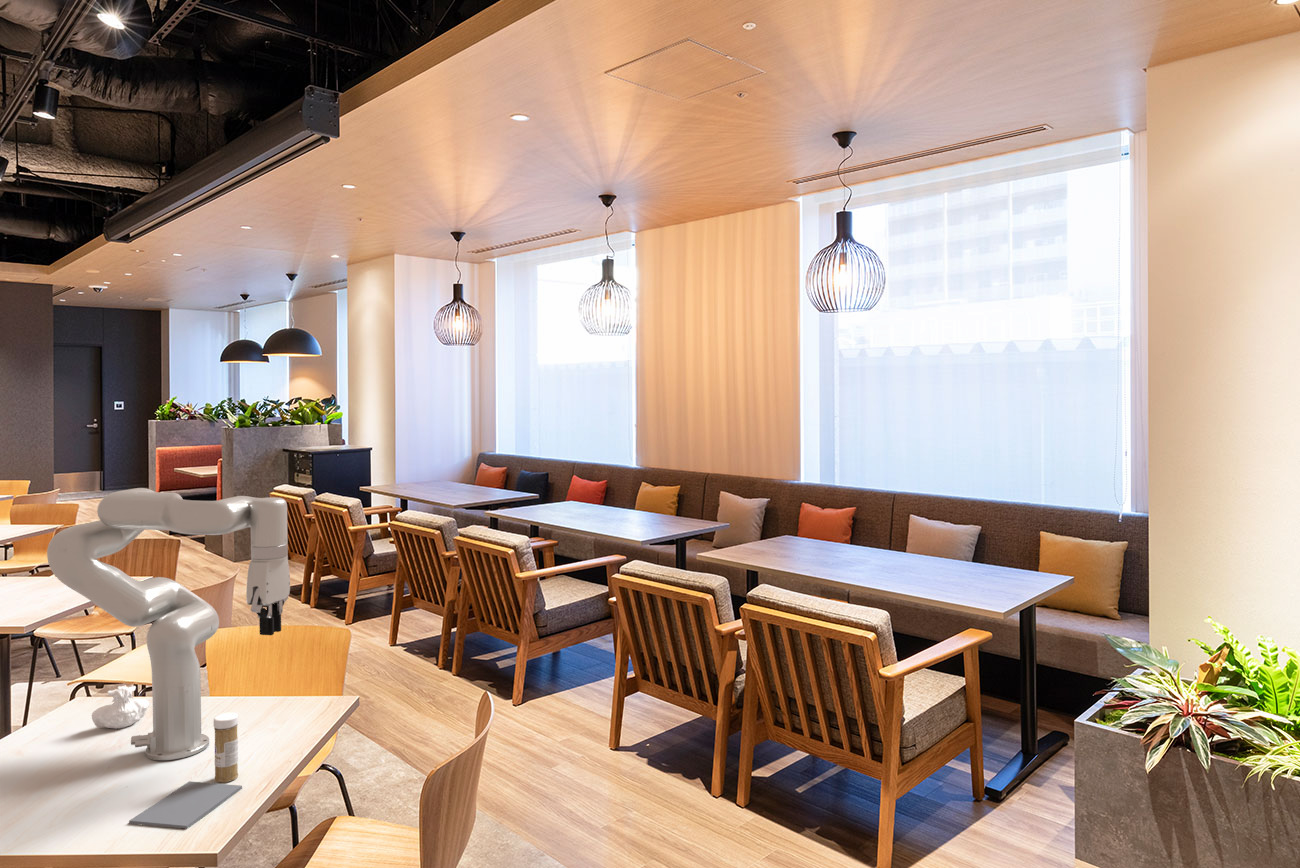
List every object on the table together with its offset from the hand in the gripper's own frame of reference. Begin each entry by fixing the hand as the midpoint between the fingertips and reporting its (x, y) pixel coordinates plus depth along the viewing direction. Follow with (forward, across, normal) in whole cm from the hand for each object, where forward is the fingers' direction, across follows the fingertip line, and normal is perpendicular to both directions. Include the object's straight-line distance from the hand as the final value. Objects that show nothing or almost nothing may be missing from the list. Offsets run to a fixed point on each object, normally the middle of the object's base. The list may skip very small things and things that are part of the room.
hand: (270, 632), depth 184 cm
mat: (+27, +26, -1) cm, 38 cm away
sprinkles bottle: (+27, +14, -1) cm, 31 cm away
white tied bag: (+27, -7, -44) cm, 53 cm away
